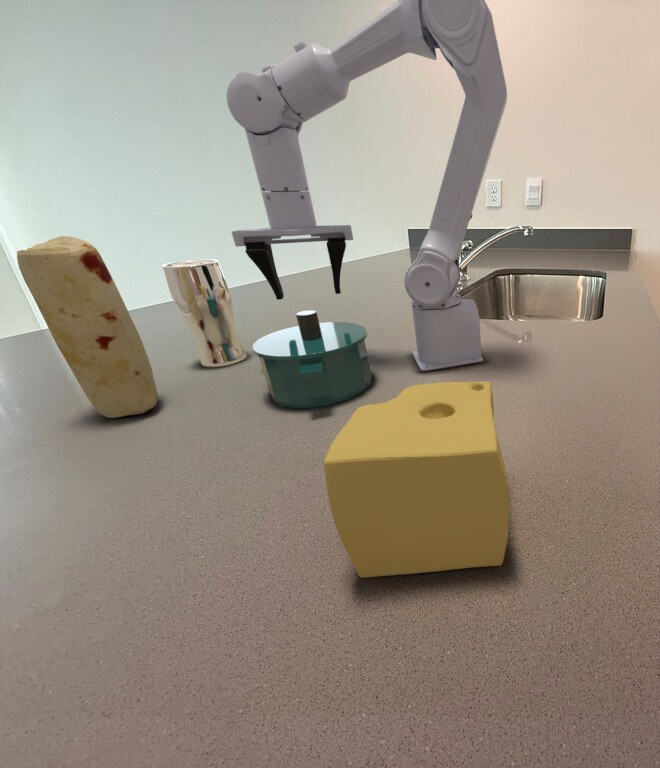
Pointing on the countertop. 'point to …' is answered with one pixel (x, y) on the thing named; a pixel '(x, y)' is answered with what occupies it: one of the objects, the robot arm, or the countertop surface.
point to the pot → (318, 378)
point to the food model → (90, 324)
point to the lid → (309, 339)
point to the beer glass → (206, 309)
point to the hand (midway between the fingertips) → (309, 295)
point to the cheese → (421, 482)
